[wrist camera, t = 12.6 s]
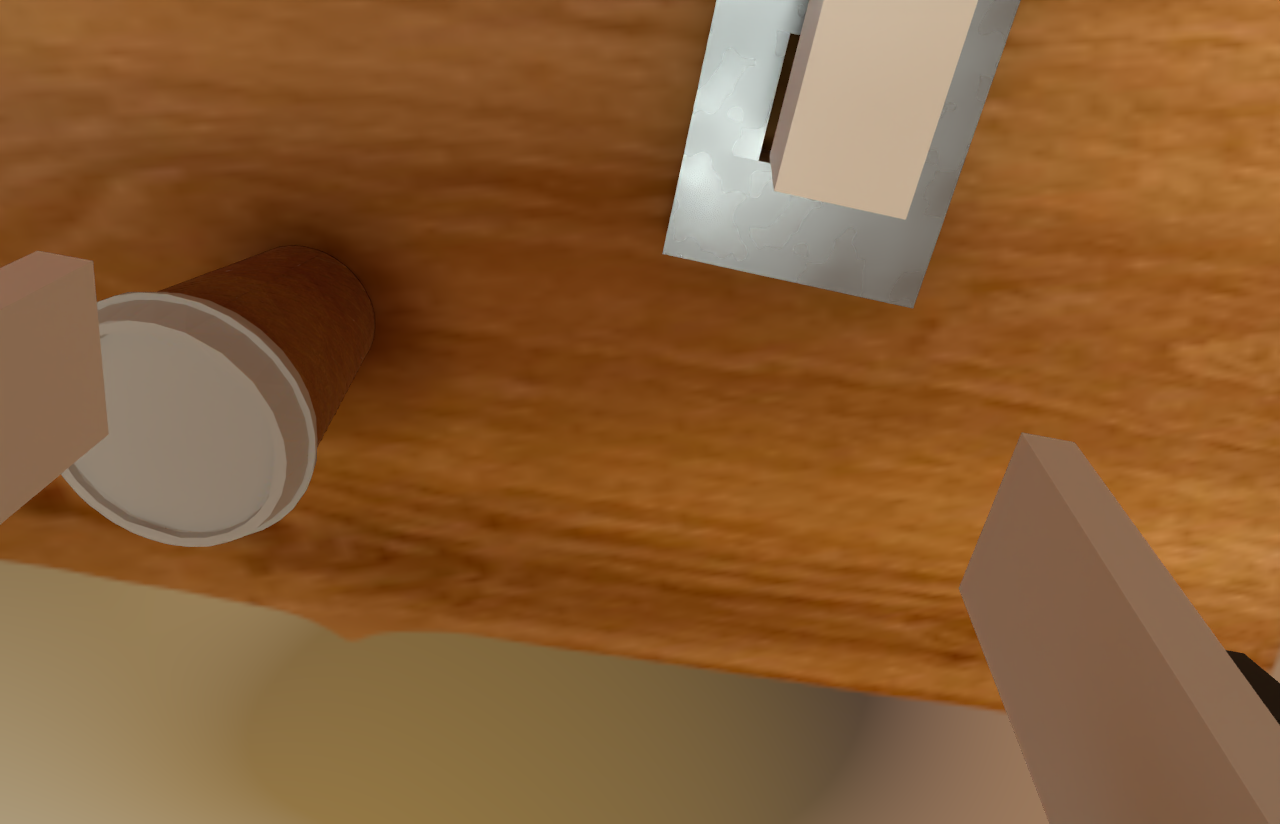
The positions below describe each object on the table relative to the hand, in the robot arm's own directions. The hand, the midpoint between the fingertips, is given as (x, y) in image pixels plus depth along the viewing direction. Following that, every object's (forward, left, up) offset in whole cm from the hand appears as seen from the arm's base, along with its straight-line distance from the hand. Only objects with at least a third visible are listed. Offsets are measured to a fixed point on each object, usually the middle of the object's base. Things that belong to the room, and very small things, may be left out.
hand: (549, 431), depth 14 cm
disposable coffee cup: (-14, -12, -27) cm, 32 cm away
